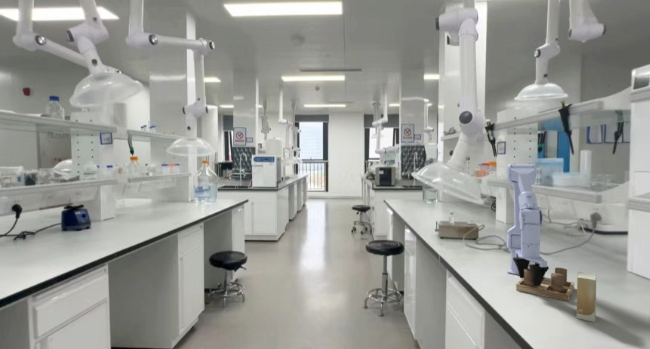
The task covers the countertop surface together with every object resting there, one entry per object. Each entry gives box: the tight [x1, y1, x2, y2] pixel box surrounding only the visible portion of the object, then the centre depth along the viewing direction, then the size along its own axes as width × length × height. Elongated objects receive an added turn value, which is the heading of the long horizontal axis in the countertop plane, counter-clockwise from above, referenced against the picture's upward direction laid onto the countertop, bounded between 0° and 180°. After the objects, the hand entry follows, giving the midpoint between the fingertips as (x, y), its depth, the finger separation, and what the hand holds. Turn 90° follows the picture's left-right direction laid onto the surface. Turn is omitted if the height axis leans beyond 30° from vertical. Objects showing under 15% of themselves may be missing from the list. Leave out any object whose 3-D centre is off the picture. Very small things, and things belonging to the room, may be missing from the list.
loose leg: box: [524, 269, 535, 288], centre depth 121 cm, size 4×4×7 cm
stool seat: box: [515, 262, 575, 302], centre depth 121 cm, size 15×15×7 cm
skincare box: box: [576, 271, 597, 323], centre depth 100 cm, size 6×4×12 cm
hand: (529, 281), depth 121 cm, fingers open, 7 cm apart
